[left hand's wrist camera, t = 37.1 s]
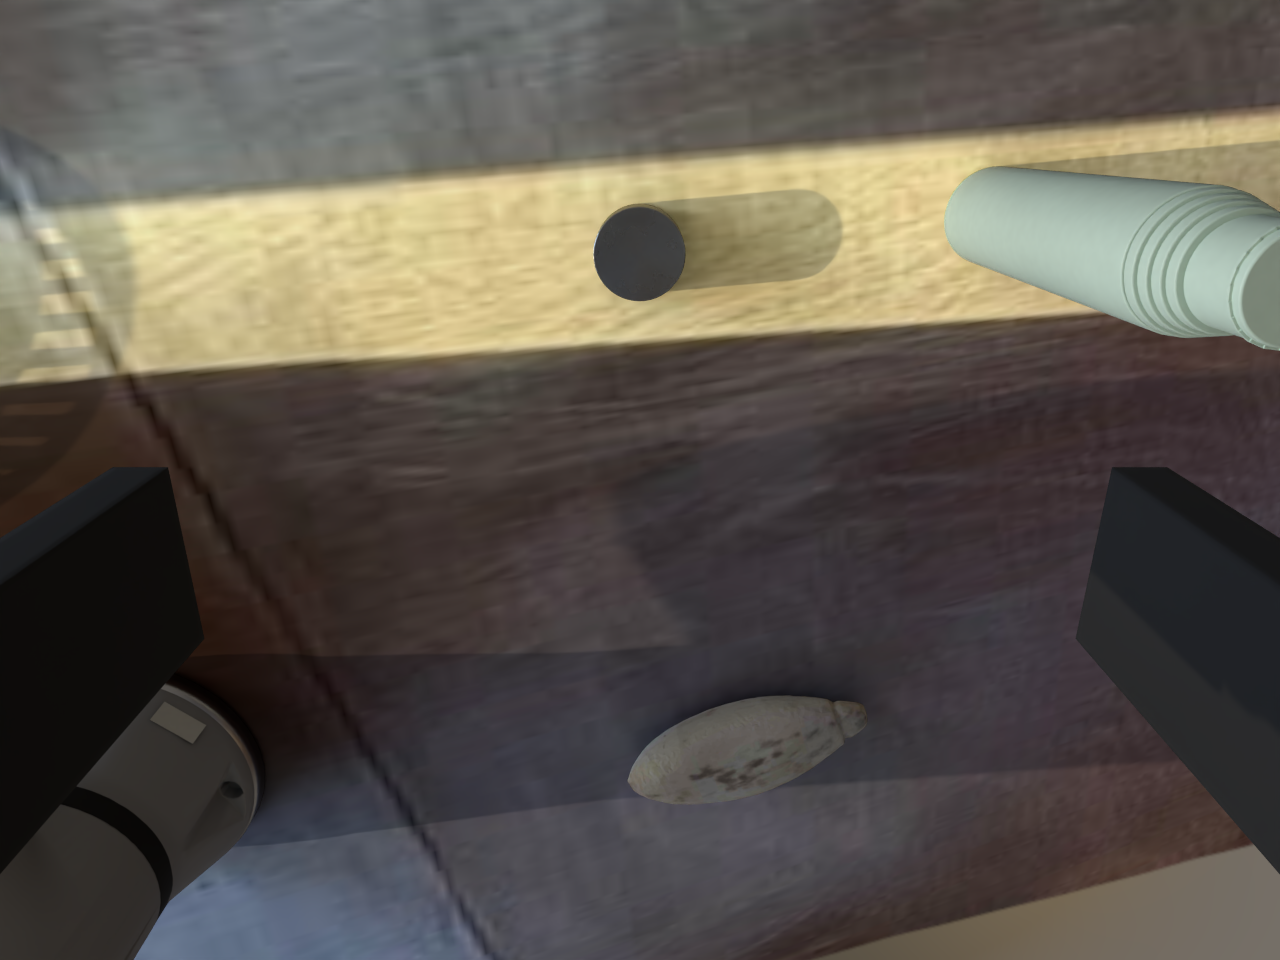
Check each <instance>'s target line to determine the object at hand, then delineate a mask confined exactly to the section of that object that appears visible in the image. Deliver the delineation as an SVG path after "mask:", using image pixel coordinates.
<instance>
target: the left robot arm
mask: <svg viewBox="0 0 1280 960" xmlns="http://www.w3.org/2000/svg"><path fill="white" fill-rule="evenodd" d="M203 640H204V635H203V630H202V626H201V621H200V616H199V612H198V607H197V602H196V597H195V593H194V588H193V583H192V579H191V574H190V569H189V565H188V560H187V555H186V550H185V546H184V541H183V536H182V532H181V527H180V522H179V517H178V513H177V508H176V503H175V499H174V494H173V489H172V485H171V480H170V475H169V470H168V467H113V468H111V469H109V470H108V471H106V472H105V473H103V474H102V475H100V476H98V477H97V478H95V479H94V480H92V481H90V482H89V483H87V484H86V485H84V486H82V487H81V488H79V489H78V490H76V491H75V492H73V493H71V494H70V495H68V496H67V497H65V498H63V499H62V500H60V501H59V502H57V503H55V504H54V505H52V506H51V507H49V508H47V509H46V510H44V511H43V512H41V513H40V514H38V515H36V516H35V517H33V518H32V519H30V520H28V521H27V522H25V523H24V524H22V525H20V526H19V527H17V528H16V529H14V530H13V531H11V532H9V533H8V534H6V535H5V536H3V537H1V538H0V960H134V958H135V956H136V955H137V953H138V951H139V950H140V948H141V946H142V945H143V943H144V941H145V940H146V938H147V936H148V935H149V933H150V932H151V930H152V928H153V926H154V925H155V923H156V921H157V919H158V918H159V916H160V915H161V913H162V911H163V910H164V908H165V907H166V905H167V904H168V902H169V901H170V900H171V899H172V898H174V897H175V896H176V895H177V894H178V893H180V892H181V891H182V890H183V889H184V888H185V887H187V886H188V885H189V884H190V883H191V882H193V881H194V880H195V879H196V878H197V877H199V876H200V875H201V874H202V873H203V872H204V871H206V870H207V869H208V868H209V867H210V866H212V865H213V864H214V863H215V862H216V861H218V860H219V859H220V858H221V857H222V856H223V855H225V854H226V853H227V852H228V851H229V850H230V849H231V848H232V847H233V846H234V845H235V844H236V842H237V841H238V840H239V839H240V838H241V837H242V835H243V834H244V833H245V831H246V829H247V828H248V826H249V824H250V822H251V821H252V819H253V817H254V815H255V813H256V812H257V810H258V808H259V806H260V803H261V800H262V797H263V793H264V785H265V772H264V765H263V760H262V757H261V753H260V751H259V748H258V746H257V744H256V742H255V740H254V738H253V736H252V734H251V733H250V731H249V730H248V728H247V727H246V725H245V724H244V723H243V721H242V720H241V719H240V718H239V717H238V716H237V714H236V713H235V712H234V711H233V710H232V709H231V708H230V707H228V706H227V705H226V704H225V703H224V702H223V701H222V700H220V699H219V698H218V697H216V696H215V695H214V694H212V693H211V692H209V691H207V690H206V689H204V688H203V687H201V686H199V685H197V684H195V683H193V682H191V681H189V680H187V679H185V678H182V677H180V676H177V675H174V673H175V672H176V671H177V670H178V668H179V667H180V666H181V665H182V664H183V663H184V661H185V660H186V659H187V658H188V657H189V656H190V655H191V653H192V652H193V651H194V650H195V649H196V648H197V646H198V645H199V644H200V643H201V642H202V641H203ZM1076 640H1077V641H1078V642H1079V643H1080V644H1081V645H1082V646H1083V648H1084V649H1085V650H1086V651H1087V652H1088V653H1089V655H1090V656H1091V657H1092V658H1093V659H1094V660H1095V661H1096V663H1097V664H1098V665H1099V666H1100V667H1101V668H1102V670H1103V671H1104V672H1105V673H1106V674H1107V675H1108V676H1109V678H1110V679H1111V680H1112V681H1113V682H1114V683H1115V685H1116V686H1117V687H1118V688H1119V689H1120V690H1121V691H1122V693H1123V694H1124V695H1125V696H1126V697H1127V698H1128V700H1129V701H1130V702H1131V703H1132V704H1133V705H1134V706H1135V708H1136V709H1137V710H1138V711H1139V712H1140V713H1141V715H1142V716H1143V717H1144V718H1145V719H1146V720H1147V721H1148V723H1149V724H1150V725H1151V726H1152V727H1153V728H1154V730H1155V731H1156V732H1157V733H1158V734H1159V735H1160V736H1161V738H1162V739H1163V740H1164V741H1165V742H1166V743H1167V745H1168V746H1169V747H1170V748H1171V749H1172V750H1173V752H1174V753H1175V754H1176V755H1177V756H1178V757H1179V758H1180V760H1181V761H1182V762H1183V763H1184V764H1185V765H1186V767H1187V768H1188V769H1189V770H1190V771H1191V772H1192V773H1193V775H1194V776H1195V777H1196V778H1197V779H1198V780H1199V782H1200V783H1201V784H1202V785H1203V786H1204V787H1205V788H1206V790H1207V791H1208V792H1209V793H1210V794H1211V795H1212V797H1213V798H1214V799H1215V800H1216V801H1217V802H1218V803H1219V805H1220V806H1221V807H1222V808H1223V809H1224V810H1225V812H1226V813H1227V814H1228V815H1229V816H1230V817H1231V818H1232V820H1233V821H1234V822H1235V823H1236V824H1237V825H1238V827H1239V828H1240V829H1241V830H1242V831H1243V832H1244V833H1245V835H1246V836H1247V837H1248V838H1249V839H1250V840H1251V842H1252V843H1253V844H1254V845H1255V846H1256V847H1257V848H1258V850H1259V851H1260V852H1261V853H1262V854H1263V855H1264V857H1265V858H1266V859H1267V860H1268V861H1269V862H1270V863H1271V865H1272V866H1273V867H1274V868H1275V869H1276V870H1277V872H1278V873H1279V874H1280V538H1279V537H1277V536H1275V535H1274V534H1272V533H1271V532H1269V531H1267V530H1266V529H1264V528H1263V527H1261V526H1260V525H1258V524H1256V523H1255V522H1253V521H1252V520H1250V519H1248V518H1247V517H1245V516H1244V515H1242V514H1240V513H1239V512H1237V511H1236V510H1234V509H1233V508H1231V507H1229V506H1228V505H1226V504H1225V503H1223V502H1221V501H1220V500H1218V499H1217V498H1215V497H1213V496H1212V495H1210V494H1209V493H1207V492H1205V491H1204V490H1202V489H1201V488H1199V487H1198V486H1196V485H1194V484H1193V483H1191V482H1190V481H1188V480H1186V479H1185V478H1183V477H1182V476H1180V475H1178V474H1177V473H1175V472H1174V471H1172V470H1171V469H1169V468H1167V467H1112V470H1111V475H1110V480H1109V485H1108V489H1107V494H1106V499H1105V503H1104V508H1103V513H1102V517H1101V522H1100V527H1099V532H1098V536H1097V541H1096V546H1095V550H1094V555H1093V560H1092V565H1091V569H1090V574H1089V579H1088V583H1087V588H1086V593H1085V597H1084V602H1083V607H1082V612H1081V616H1080V621H1079V626H1078V630H1077V635H1076Z"/></svg>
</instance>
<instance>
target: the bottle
mask: <svg viewBox="0 0 1280 960" xmlns="http://www.w3.org/2000/svg"><path fill="white" fill-rule="evenodd" d="M944 226H945V233H946V237H947V239H948V242H949V244H950V245H951V247H952V248H953V250H954V251H955V252H956V253H957V254H958V255H959V256H961V257H962V258H964V259H965V260H967V261H970V262H972V263H975V264H978V265H980V266H983V267H986V268H988V269H991V270H993V271H996V272H999V273H1001V274H1004V275H1007V276H1009V277H1012V278H1014V279H1017V280H1020V281H1022V282H1025V283H1028V284H1030V285H1033V286H1035V287H1038V288H1041V289H1043V290H1046V291H1048V292H1051V293H1054V294H1056V295H1059V296H1062V297H1064V298H1067V299H1069V300H1072V301H1075V302H1077V303H1080V304H1083V305H1085V306H1088V307H1090V308H1093V309H1096V310H1098V311H1101V312H1104V313H1106V314H1109V315H1111V316H1114V317H1117V318H1119V319H1122V320H1125V321H1127V322H1130V323H1132V324H1135V325H1138V326H1140V327H1143V328H1146V329H1148V330H1151V331H1153V332H1156V333H1159V334H1163V335H1168V336H1176V337H1183V338H1194V337H1213V336H1230V335H1236V336H1239V337H1242V338H1244V339H1245V340H1246V341H1248V342H1250V343H1252V344H1254V345H1257V346H1259V347H1261V348H1264V349H1272V350H1280V212H1279V211H1277V210H1276V209H1274V208H1272V207H1271V206H1269V205H1268V204H1266V203H1265V202H1263V201H1261V200H1260V199H1258V198H1257V197H1255V196H1253V195H1252V194H1249V193H1247V192H1244V191H1241V190H1237V189H1235V188H1232V187H1228V186H1223V185H1212V184H1201V183H1189V182H1177V181H1165V180H1154V179H1142V178H1130V177H1118V176H1107V175H1095V174H1083V173H1071V172H1060V171H1048V170H1036V169H1025V168H1013V167H1000V166H997V167H989V168H985V169H982V170H979V171H977V172H975V173H973V174H972V175H970V176H969V177H967V178H966V179H965V180H964V181H963V182H962V183H961V184H960V185H959V186H958V187H957V188H956V190H955V191H954V193H953V194H952V196H951V198H950V200H949V202H948V205H947V208H946V212H945V219H944Z"/></svg>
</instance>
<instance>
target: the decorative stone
mask: <svg viewBox="0 0 1280 960" xmlns="http://www.w3.org/2000/svg"><path fill="white" fill-rule="evenodd" d="M866 724H867V714H866V711H865V708H864V706H863V705H862V704H860V703H857V702H849V701H836V702H832V701H830V700H828V699H823V698H816V697H806V696H790V695H789V696H787V695H784V696H765V697H756V698H749V699H744V700H740V701H736V702H732V703H728V704H724V705H721V706H718V707H715V708H712V709H709V710H706V711H704V712H702V713H699V714H697V715H695V716H692V717H690V718H688V719H686V720H684V721H682V722H680V723H678V724H677V725H675V726H673V727H671V728H669V729H668V730H666V731H665V732H664V733H662V734H661V735H659V736H658V737H656V738H655V739H654V740H653V741H652V742H651V743H650V744H648V745H647V746H646V747H645V749H644V750H643V751H642V752H641V754H640V755H639V757H638V758H637V760H636V762H635V763H634V765H633V766H632V769H631V772H630V775H629V778H628V783H629V784H630V786H631V788H632V789H633V790H634V791H635V792H636V793H638V794H639V795H641V796H644V797H646V798H649V799H652V800H656V801H661V802H664V803H671V804H688V805H691V804H704V803H714V802H723V801H730V800H736V799H741V798H745V797H749V796H753V795H757V794H760V793H763V792H765V791H768V790H771V789H773V788H776V787H778V786H780V785H782V784H785V783H787V782H789V781H791V780H793V779H795V778H797V777H798V776H800V775H802V774H803V773H805V772H807V771H809V770H810V769H812V768H813V767H815V766H816V765H817V764H818V763H820V762H821V761H823V760H824V759H825V758H826V757H828V756H829V755H831V754H832V753H834V752H835V751H836V750H837V749H838V748H839V747H841V746H842V745H843V744H844V741H845V738H849V737H853V736H855V735H856V734H857V733H858V732H860V731H861V730H862V729H863V728H864V727H865V726H866Z"/></svg>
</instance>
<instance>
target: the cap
mask: <svg viewBox="0 0 1280 960" xmlns="http://www.w3.org/2000/svg"><path fill="white" fill-rule="evenodd" d="M593 256H594V264H595V268H596V271H597V273H598V275H599V277H600V279H601V281H602V282H603V283H604V285H605V286H606V287H607V288H608V289H609V290H610V291H612V292H613V293H614V294H616V295H618V296H620V297H622V298H624V299H627V300H632V301H647V300H651V299H654V298H657V297H659V296H661V295H663V294H664V293H666V292H667V291H668V290H670V289H671V288H672V287H673V285H674V284H675V283H676V282H677V280H678V279H679V277H680V275H681V273H682V270H683V267H684V263H685V246H684V241H683V238H682V235H681V233H680V231H679V228H678V226H677V225H676V223H675V222H674V221H673V219H672V218H671V217H670V216H669V215H668V214H667V213H665V212H664V211H662V210H661V209H659V208H657V207H654V206H651V205H647V204H632V205H628V206H625V207H622V208H620V209H618V210H616V211H615V212H614V213H612V214H611V215H610V216H609V217H608V218H607V219H606V220H605V222H604V223H603V225H602V226H601V228H600V230H599V232H598V235H597V237H596V240H595V244H594V253H593Z"/></svg>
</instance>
